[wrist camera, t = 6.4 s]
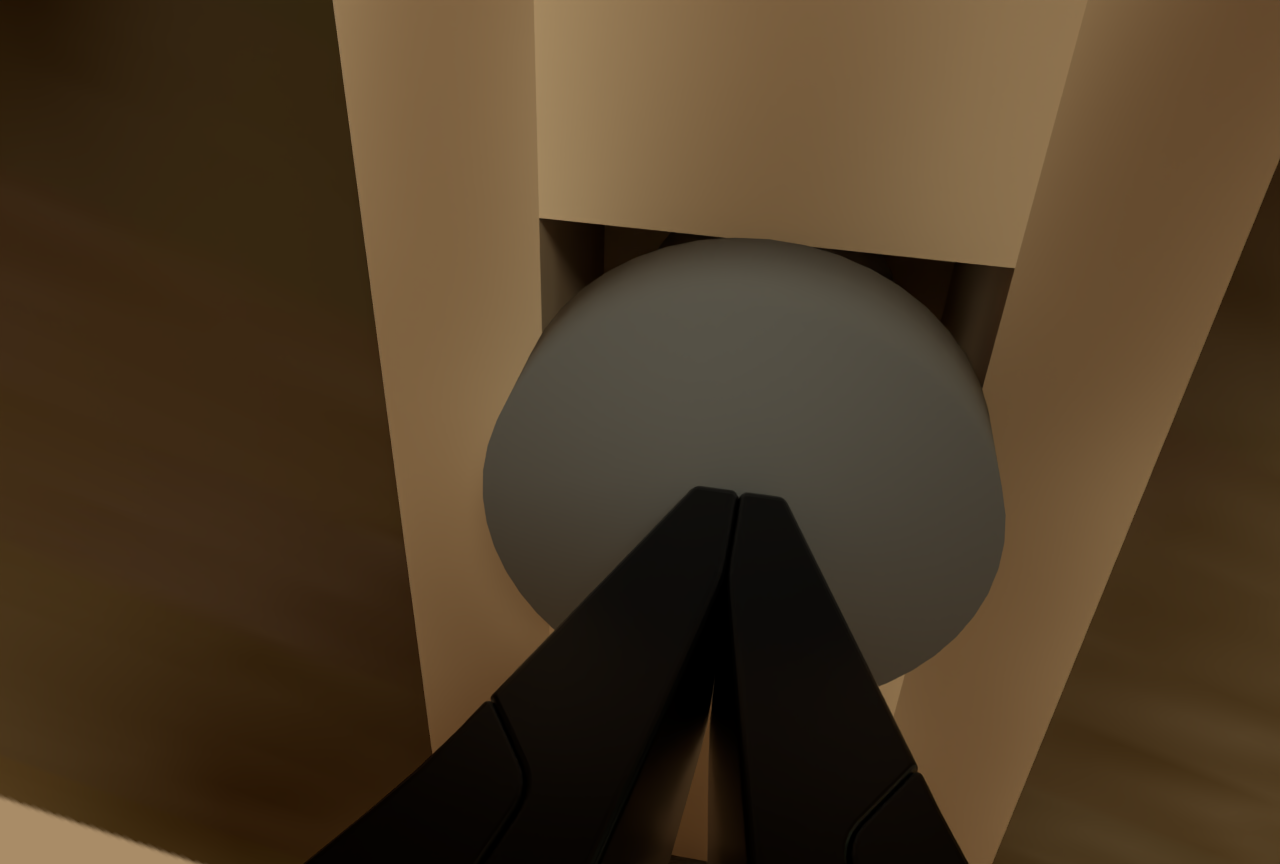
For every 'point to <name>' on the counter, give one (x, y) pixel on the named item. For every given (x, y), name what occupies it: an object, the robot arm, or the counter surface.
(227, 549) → the counter surface
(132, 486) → the counter surface
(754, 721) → the robot arm
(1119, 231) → the oak block
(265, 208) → the counter surface
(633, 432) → the grey domed piece
